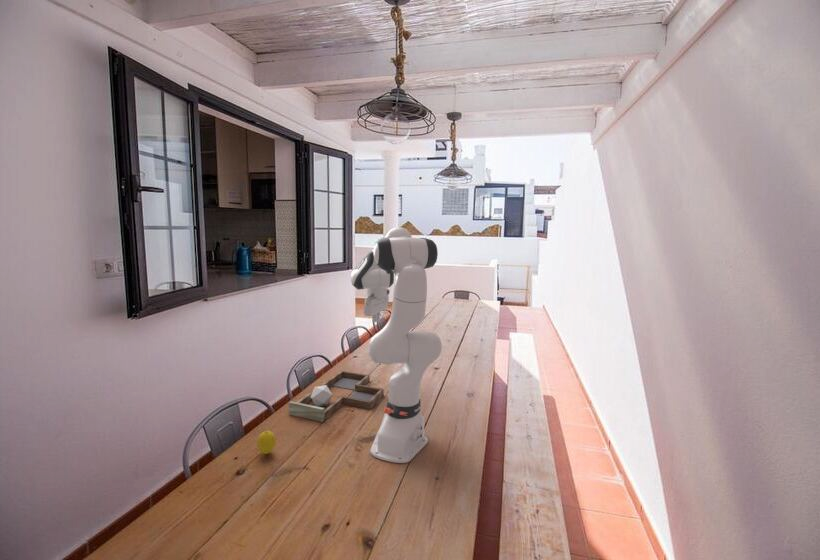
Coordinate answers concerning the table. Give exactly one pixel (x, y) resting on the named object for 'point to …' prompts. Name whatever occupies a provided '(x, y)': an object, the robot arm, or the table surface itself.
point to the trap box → (320, 414)
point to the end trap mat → (346, 383)
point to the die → (321, 396)
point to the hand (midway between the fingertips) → (376, 321)
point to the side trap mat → (361, 396)
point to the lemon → (266, 442)
